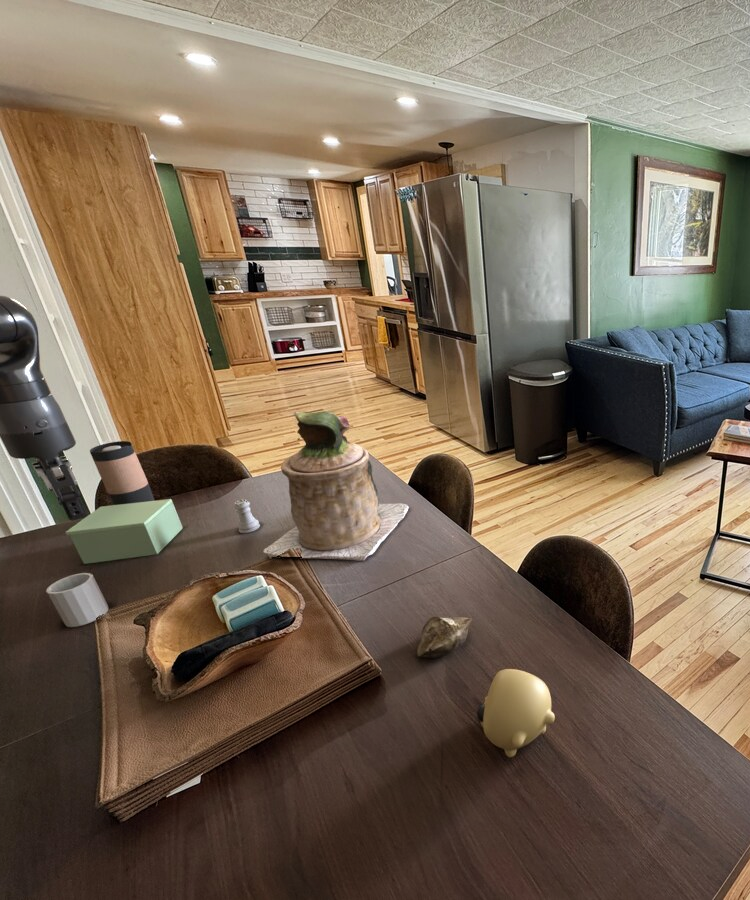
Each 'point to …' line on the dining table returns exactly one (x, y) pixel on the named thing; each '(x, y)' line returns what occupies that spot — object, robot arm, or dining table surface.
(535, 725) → the toy pig
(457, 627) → the fossilized seashell
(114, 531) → the container
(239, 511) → the rook chess piece
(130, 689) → the dining table surface
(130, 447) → the travel mug
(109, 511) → the container lid
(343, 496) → the cookie jar
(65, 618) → the cup
